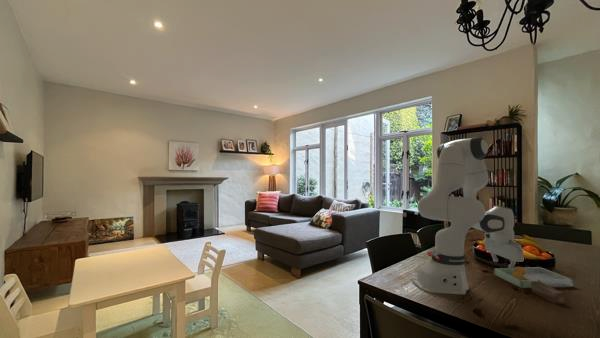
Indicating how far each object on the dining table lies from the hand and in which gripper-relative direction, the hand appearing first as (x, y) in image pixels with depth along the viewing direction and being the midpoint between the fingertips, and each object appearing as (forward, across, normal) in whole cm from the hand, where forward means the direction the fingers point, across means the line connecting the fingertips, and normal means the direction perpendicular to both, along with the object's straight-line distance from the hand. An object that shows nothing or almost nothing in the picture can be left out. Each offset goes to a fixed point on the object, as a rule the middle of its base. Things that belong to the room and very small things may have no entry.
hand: (503, 265), depth 132 cm
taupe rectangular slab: (+2, -29, +7) cm, 30 cm away
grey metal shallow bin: (+2, -13, -6) cm, 15 cm away
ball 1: (-1, -10, 0) cm, 10 cm away
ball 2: (0, -14, +5) cm, 15 cm away
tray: (+2, -13, +6) cm, 14 cm away
